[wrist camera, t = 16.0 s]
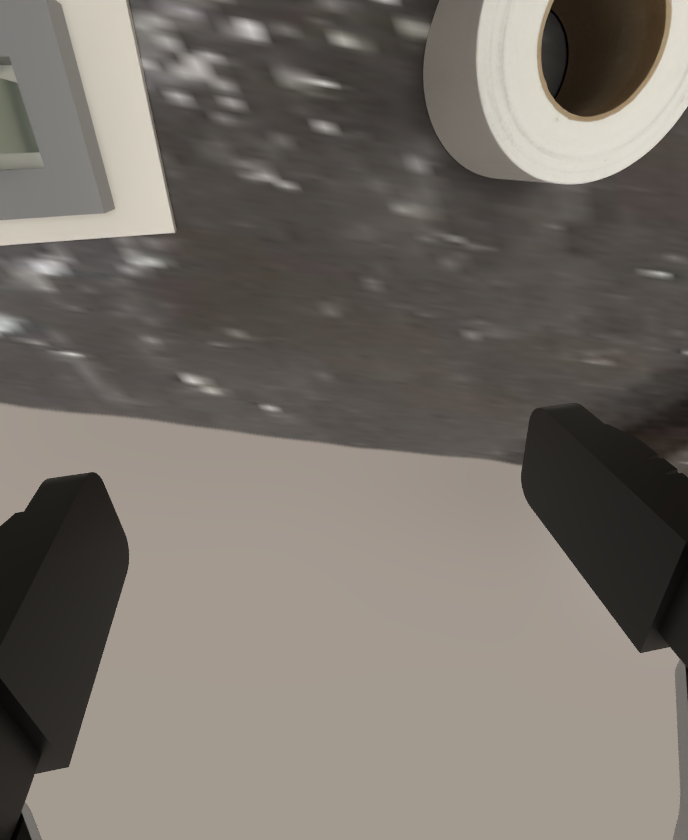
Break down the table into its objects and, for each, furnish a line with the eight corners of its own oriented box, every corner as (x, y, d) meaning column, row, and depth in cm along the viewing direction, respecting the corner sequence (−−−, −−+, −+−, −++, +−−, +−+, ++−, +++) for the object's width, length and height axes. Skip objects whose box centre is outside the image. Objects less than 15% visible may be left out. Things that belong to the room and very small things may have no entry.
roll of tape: (384, 25, 34) (432, -21, 25) (576, -129, 32) (706, -242, 23) (472, 216, 42) (534, 234, 33) (632, 103, 40) (748, 88, 30)
